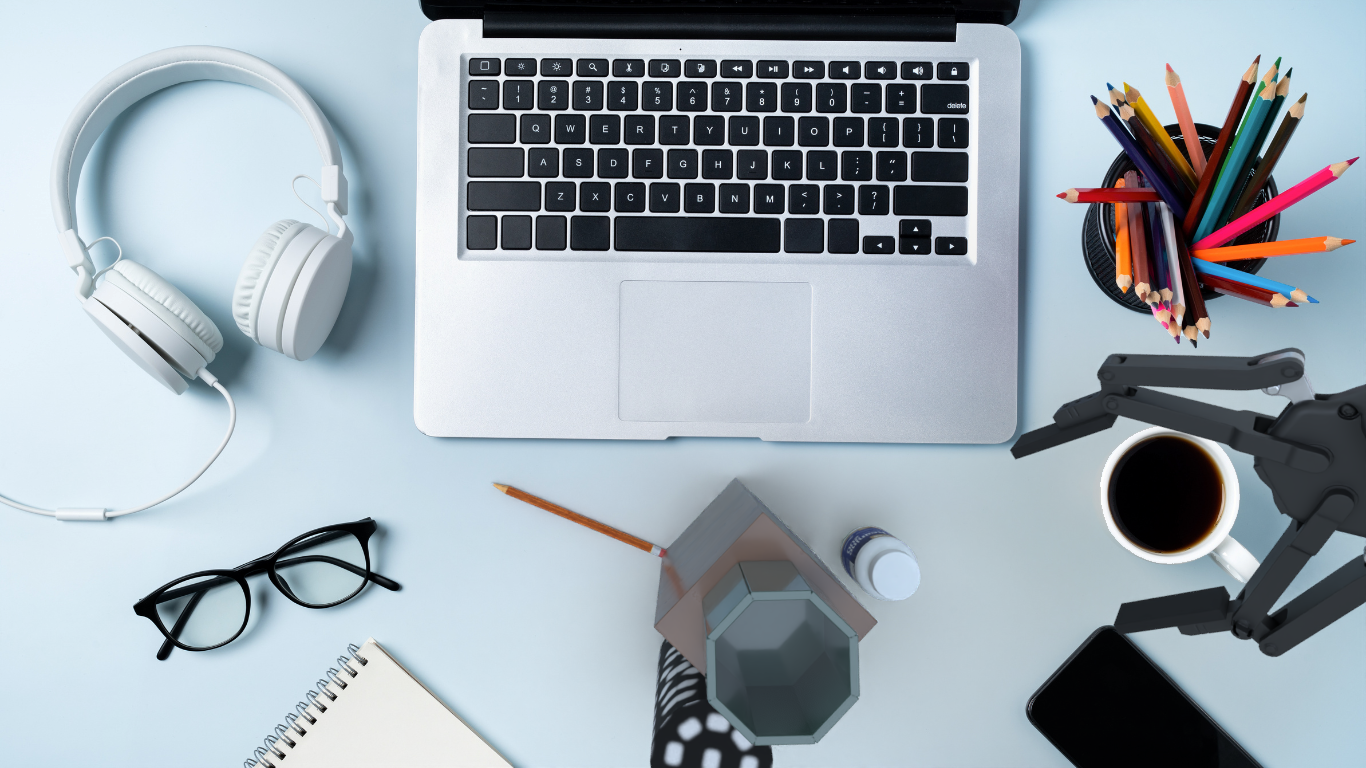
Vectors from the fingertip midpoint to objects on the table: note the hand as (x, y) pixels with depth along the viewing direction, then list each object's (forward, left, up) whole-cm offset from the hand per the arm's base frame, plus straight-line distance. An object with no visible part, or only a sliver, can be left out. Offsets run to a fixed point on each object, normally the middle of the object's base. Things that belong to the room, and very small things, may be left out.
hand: (1068, 532), depth 53 cm
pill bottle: (+3, +10, -20) cm, 22 cm away
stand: (+12, +18, -20) cm, 29 cm away
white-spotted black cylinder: (+7, +28, -20) cm, 35 cm away
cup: (+12, +18, +4) cm, 22 cm away
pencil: (+25, +26, -20) cm, 41 cm away
